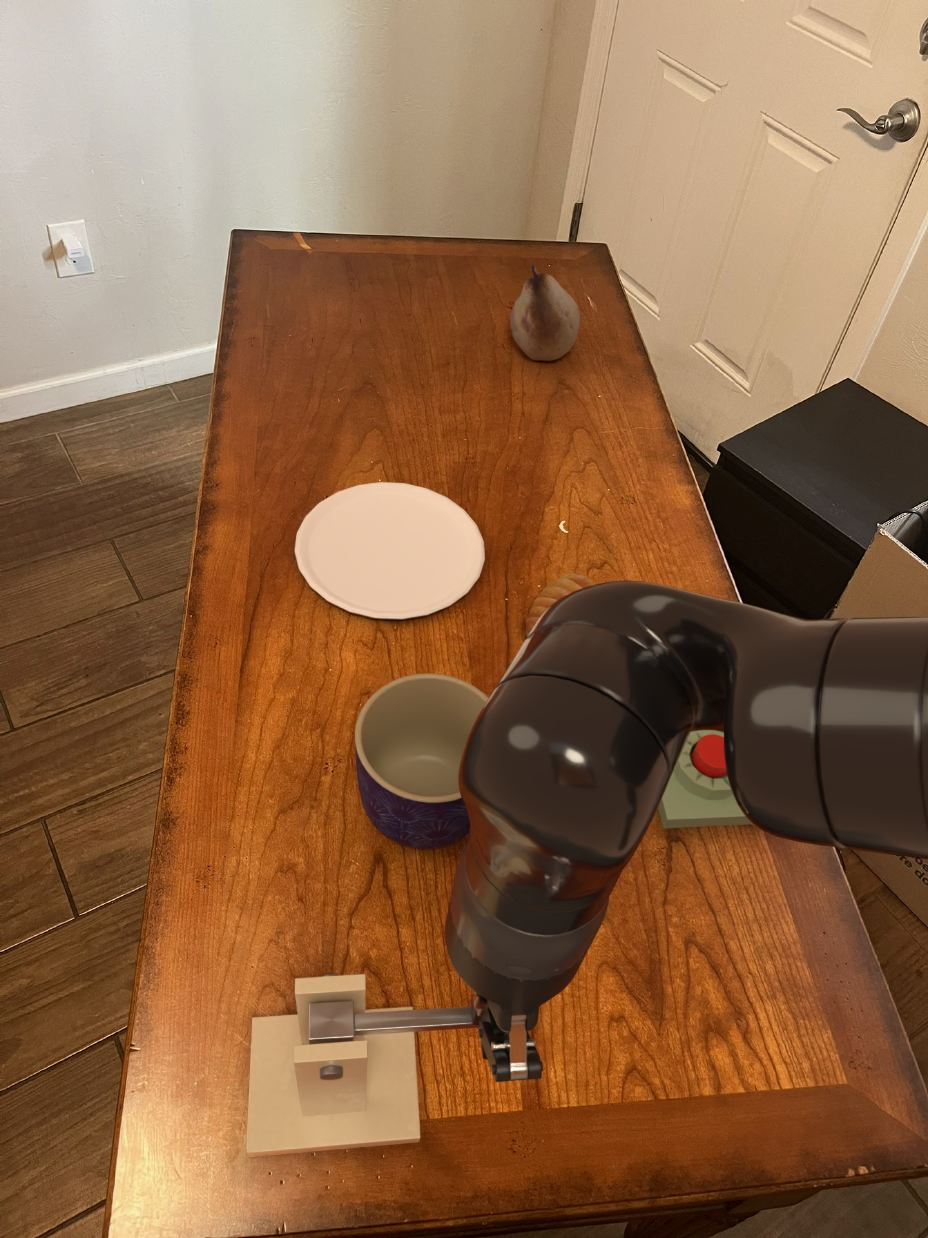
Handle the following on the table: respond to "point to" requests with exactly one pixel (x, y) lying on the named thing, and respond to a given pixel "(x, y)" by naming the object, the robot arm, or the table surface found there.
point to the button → (710, 756)
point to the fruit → (544, 318)
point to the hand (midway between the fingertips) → (487, 1012)
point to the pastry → (555, 595)
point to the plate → (389, 551)
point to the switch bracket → (329, 1080)
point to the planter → (416, 758)
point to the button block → (698, 794)
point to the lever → (380, 1022)
